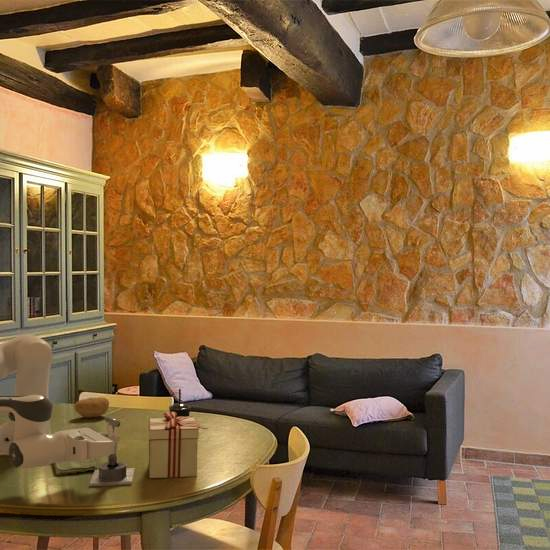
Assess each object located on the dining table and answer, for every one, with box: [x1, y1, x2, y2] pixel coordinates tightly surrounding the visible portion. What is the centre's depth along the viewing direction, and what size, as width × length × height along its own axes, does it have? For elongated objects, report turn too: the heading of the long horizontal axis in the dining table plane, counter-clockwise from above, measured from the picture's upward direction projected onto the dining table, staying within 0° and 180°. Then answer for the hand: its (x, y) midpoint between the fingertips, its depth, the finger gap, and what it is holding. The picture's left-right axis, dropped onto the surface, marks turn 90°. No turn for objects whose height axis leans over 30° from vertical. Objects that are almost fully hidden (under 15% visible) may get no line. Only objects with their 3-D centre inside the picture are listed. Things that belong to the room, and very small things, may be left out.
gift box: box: [147, 411, 209, 479], centre depth 205 cm, size 17×18×17 cm
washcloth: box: [53, 459, 99, 476], centre depth 209 cm, size 13×18×3 cm
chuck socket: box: [89, 460, 136, 487], centre depth 197 cm, size 12×12×4 cm
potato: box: [73, 396, 110, 419], centre depth 271 cm, size 10×14×8 cm
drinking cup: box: [168, 388, 192, 417], centre depth 231 cm, size 8×8×20 cm
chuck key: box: [104, 416, 121, 465], centre depth 196 cm, size 7×3×14 cm, turn 38°
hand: (115, 436), depth 197 cm, fingers closed on chuck key, 3 cm apart
